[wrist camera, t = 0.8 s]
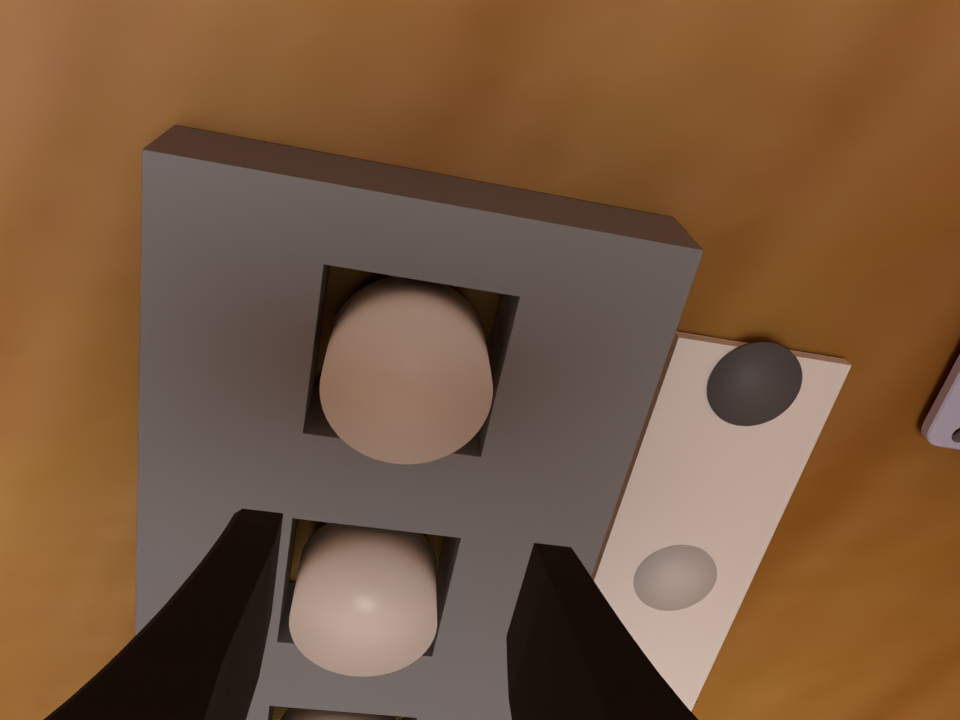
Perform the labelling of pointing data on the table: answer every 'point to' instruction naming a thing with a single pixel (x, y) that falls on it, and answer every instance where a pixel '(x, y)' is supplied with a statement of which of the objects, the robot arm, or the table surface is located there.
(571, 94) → the table surface
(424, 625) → the button
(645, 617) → the pattern card
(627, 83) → the table surface
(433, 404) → the button
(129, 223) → the table surface
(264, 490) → the button board
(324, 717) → the button
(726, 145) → the table surface
